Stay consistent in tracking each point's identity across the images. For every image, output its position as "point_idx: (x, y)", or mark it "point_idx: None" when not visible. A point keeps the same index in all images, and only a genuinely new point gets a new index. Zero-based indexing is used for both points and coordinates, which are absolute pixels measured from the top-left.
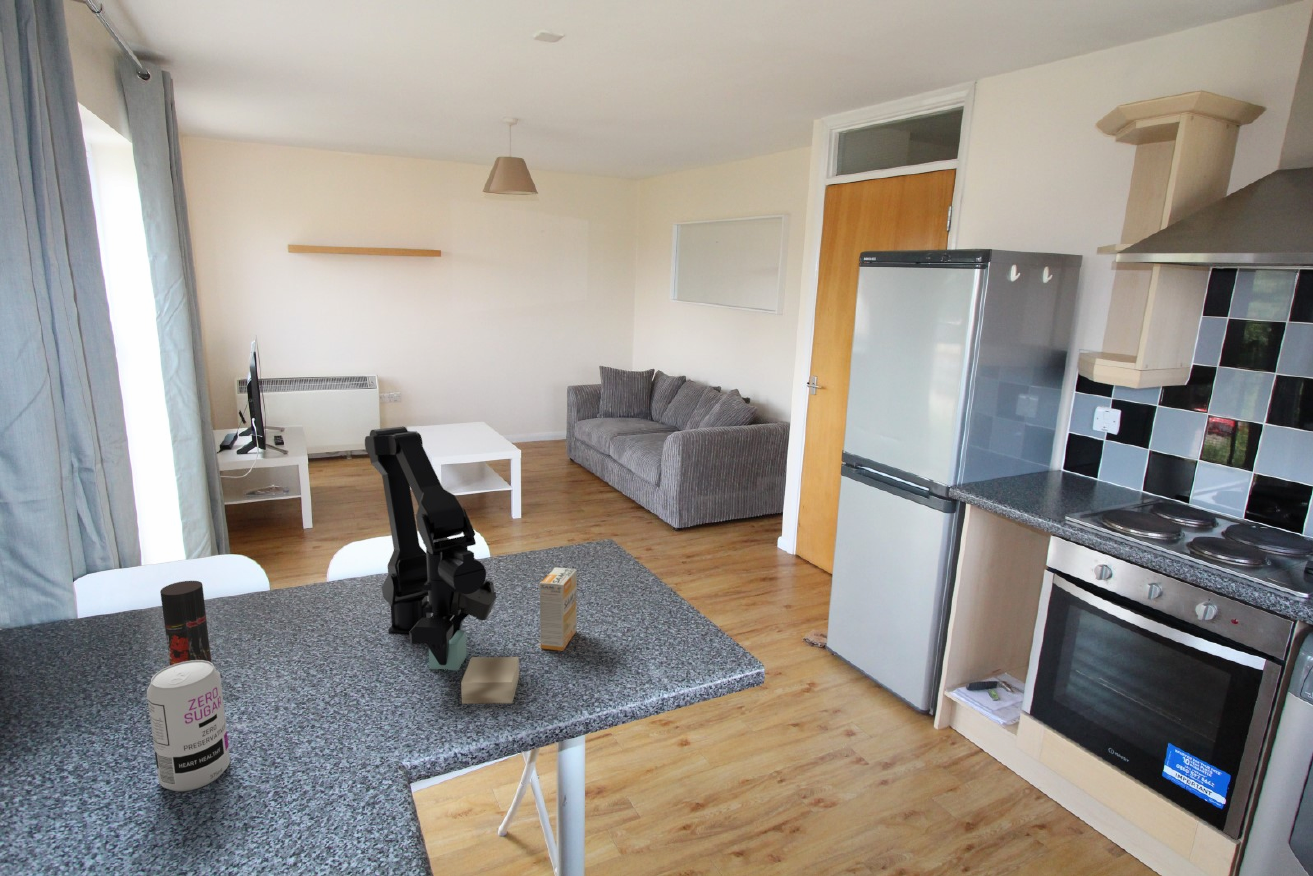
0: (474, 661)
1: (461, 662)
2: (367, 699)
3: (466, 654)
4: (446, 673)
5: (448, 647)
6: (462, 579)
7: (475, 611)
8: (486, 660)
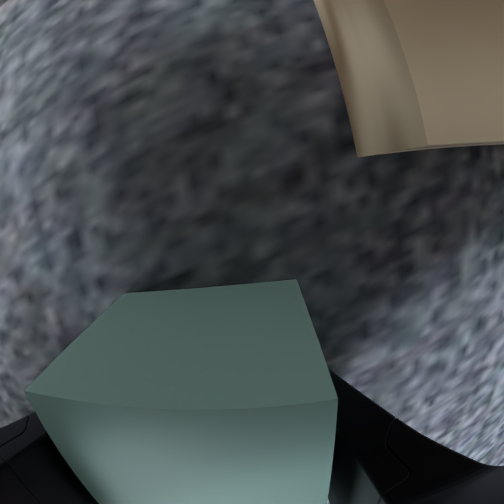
0: (481, 97)
1: (219, 290)
2: (477, 451)
3: (122, 297)
4: (335, 326)
5: (353, 433)
6: None
7: None
8: (435, 1)
